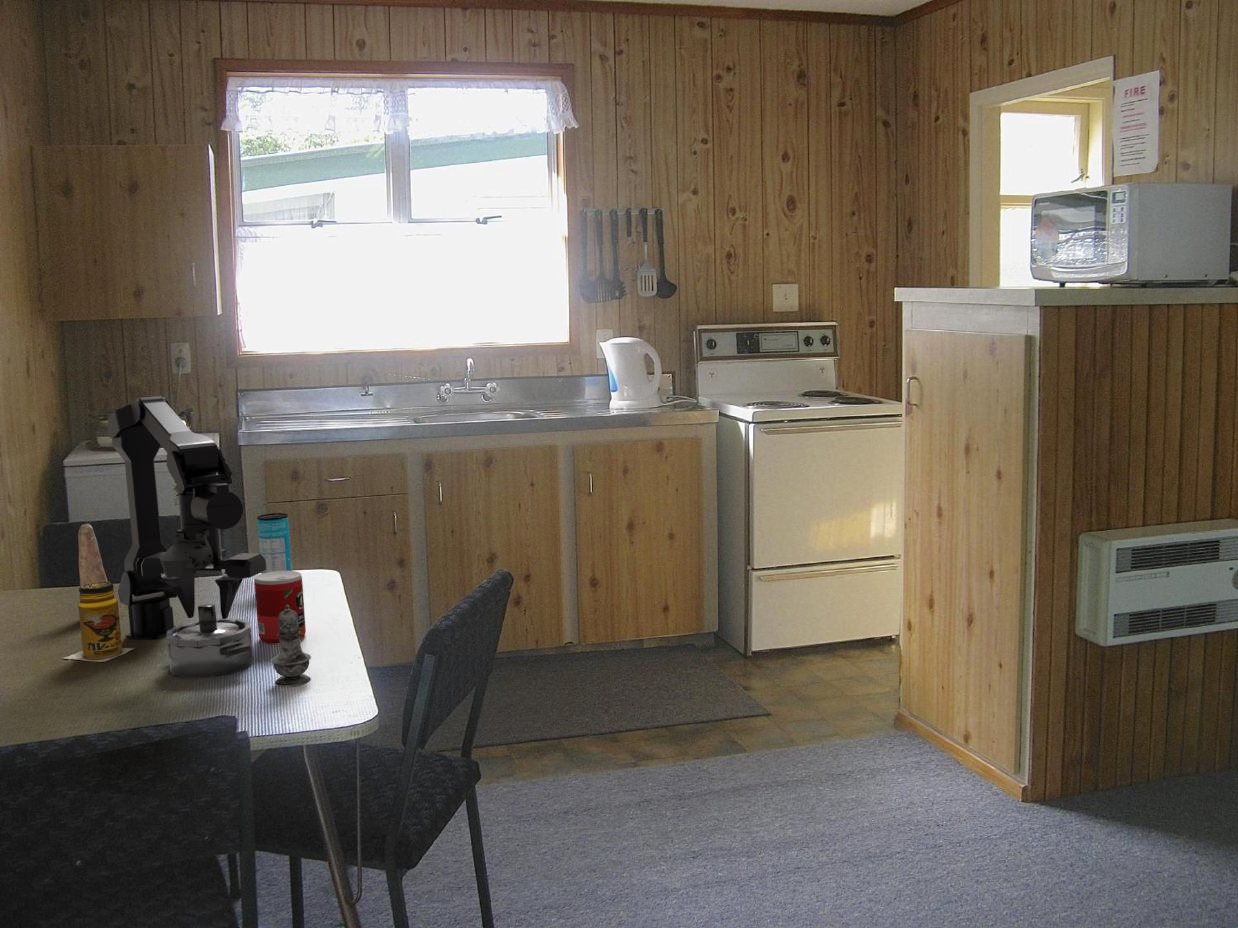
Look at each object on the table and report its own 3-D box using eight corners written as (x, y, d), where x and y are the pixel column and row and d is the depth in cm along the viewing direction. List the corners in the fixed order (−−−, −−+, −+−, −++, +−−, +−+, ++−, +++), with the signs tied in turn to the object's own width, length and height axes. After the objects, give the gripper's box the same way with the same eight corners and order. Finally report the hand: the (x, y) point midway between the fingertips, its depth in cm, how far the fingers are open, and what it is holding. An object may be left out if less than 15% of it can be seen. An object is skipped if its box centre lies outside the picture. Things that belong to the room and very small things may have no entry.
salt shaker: (276, 676, 189) (271, 600, 187) (315, 674, 189) (310, 598, 188) (269, 688, 183) (263, 610, 181) (309, 686, 184) (303, 608, 182)
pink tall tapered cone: (114, 614, 233) (80, 622, 229) (98, 521, 232) (63, 527, 229) (122, 616, 228) (88, 623, 224) (106, 520, 227) (71, 526, 224)
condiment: (105, 662, 200) (98, 590, 198) (62, 659, 202) (55, 588, 201) (135, 649, 207) (128, 580, 205) (93, 646, 209) (87, 578, 207)
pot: (147, 665, 197) (144, 629, 196) (218, 646, 206) (216, 612, 205) (204, 686, 185) (201, 647, 184) (277, 665, 194) (274, 628, 194)
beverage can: (299, 587, 247) (294, 514, 245) (277, 594, 242) (271, 519, 240) (278, 584, 250) (273, 512, 248) (256, 591, 245) (250, 517, 243)
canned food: (294, 645, 206) (289, 581, 204) (250, 644, 207) (245, 580, 206) (314, 632, 213) (309, 570, 212) (271, 631, 215) (267, 570, 213)
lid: (166, 642, 192) (163, 612, 191) (199, 626, 200) (196, 597, 200) (219, 644, 189) (216, 614, 189) (250, 628, 198) (247, 599, 198)
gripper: (115, 530, 187) (124, 630, 189) (227, 531, 183) (235, 633, 185) (157, 517, 197) (165, 611, 200) (264, 517, 193) (271, 614, 196)
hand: (207, 617), depth 195 cm, fingers open, 6 cm apart
